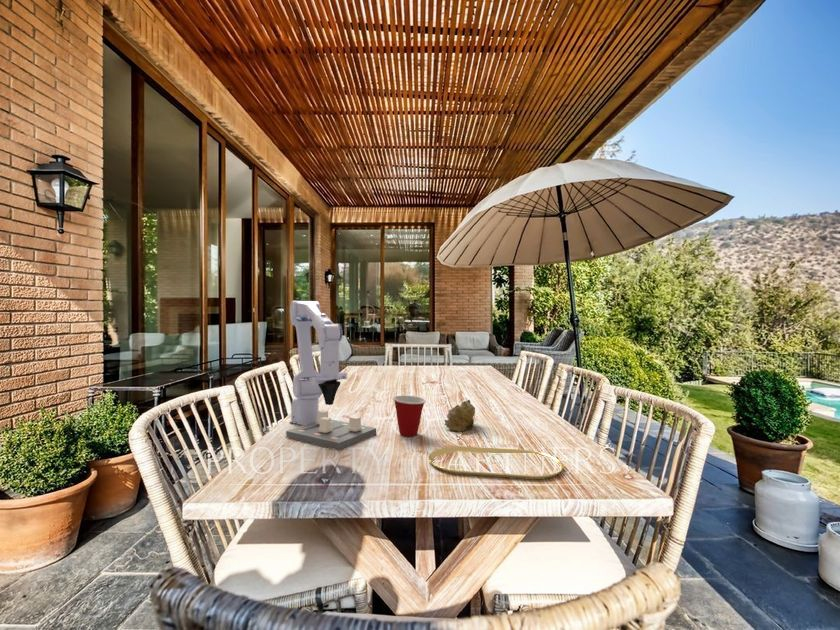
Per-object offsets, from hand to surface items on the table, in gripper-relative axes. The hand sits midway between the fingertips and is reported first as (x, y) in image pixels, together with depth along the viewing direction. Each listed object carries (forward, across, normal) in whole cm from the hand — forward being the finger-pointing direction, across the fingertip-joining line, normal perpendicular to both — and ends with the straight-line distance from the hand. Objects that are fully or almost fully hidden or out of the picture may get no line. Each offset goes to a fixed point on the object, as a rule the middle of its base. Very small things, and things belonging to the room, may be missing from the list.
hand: (329, 404), depth 131 cm
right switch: (+8, +4, -7) cm, 12 cm away
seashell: (+11, +34, -30) cm, 47 cm away
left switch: (+8, +4, +7) cm, 12 cm away
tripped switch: (+8, -2, 0) cm, 8 cm away
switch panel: (+10, +1, 0) cm, 10 cm away
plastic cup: (+11, +16, -20) cm, 28 cm away
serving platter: (+11, +6, -53) cm, 55 cm away
